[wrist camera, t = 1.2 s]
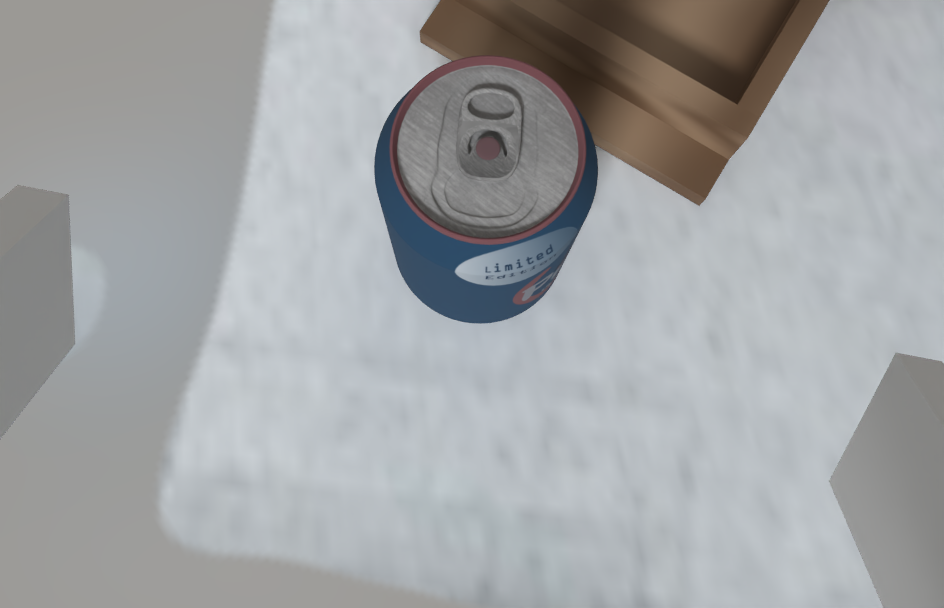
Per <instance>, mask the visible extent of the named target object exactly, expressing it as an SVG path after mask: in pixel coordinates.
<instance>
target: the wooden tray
mask: <svg viewBox="0 0 944 608" xmlns="http://www.w3.org/2000/svg"><path fill="white" fill-rule="evenodd" d="M828 2H829V0H441V1H440V2H439V4H438V5H437V7H436V8H435V10H434V11H433V13H432V14H431V15H430V17H429V18H428V20H427V21H426V23H425V24H424V26H423V27H422V29H421V30H420V40H421V43H423V44H425V45H426V46H428V47H430V48H432V49H433V50H435V51H437V52H438V53H440V54H442V55H443V56H445V57H447V58H449V59H450V60H452V61H455V60H458V59H462V58H466V57H471V56H480V55H493V56H503V57H508V58H513V59H516V60H519V61H522V62H525V63H527V64H530V65H532V66H534V67H536V68H538V69H539V70H541V71H542V72H544V73H546V74H547V75H548V76H550V77H551V78H552V79H553V80H554V81H556V82H557V83H558V84H559V85H560V86H561V87H562V88H563V90H564V91H565V92H566V93H567V95H568V96H569V97H570V99H571V100H572V102H573V103H574V104H575V106H576V107H577V108H578V110H579V111H580V113H581V114H582V116H583V118H584V119H585V121H586V123H587V125H588V127H589V130H590V132H591V135H592V138H593V141H594V144H595V145H597V146H598V147H600V148H602V149H604V150H605V151H607V152H609V153H610V154H612V155H614V156H615V157H617V158H619V159H621V160H622V161H624V162H626V163H627V164H629V165H631V166H632V167H634V168H636V169H638V170H639V171H641V172H643V173H644V174H646V175H648V176H649V177H651V178H653V179H655V180H656V181H658V182H660V183H661V184H663V185H665V186H666V187H668V188H670V189H672V190H673V191H675V192H677V193H678V194H680V195H682V196H684V197H685V198H687V199H689V200H690V201H692V202H694V203H695V204H697V205H700V204H701V203H702V202H703V201H704V200H705V199H706V197H707V196H708V194H709V192H710V190H711V189H712V187H713V185H714V184H715V182H716V180H717V179H718V177H719V175H720V174H721V172H722V170H723V169H724V167H725V165H726V164H727V162H728V160H729V159H730V158H731V157H732V155H733V154H734V153H735V152H736V151H737V150H738V149H739V147H740V146H741V145H742V144H743V143H744V142H745V141H746V139H747V138H748V137H749V135H750V133H751V132H752V130H753V128H754V127H755V125H756V123H757V122H758V120H759V118H760V116H761V115H762V113H763V111H764V110H765V108H766V106H767V105H768V103H769V101H770V100H771V98H772V96H773V95H774V93H775V91H776V89H777V88H778V86H779V84H780V83H781V81H782V79H783V78H784V76H785V74H786V73H787V71H788V69H789V68H790V66H791V64H792V63H793V61H794V59H795V57H796V56H797V54H798V52H799V51H800V49H801V47H802V46H803V44H804V42H805V41H806V39H807V37H808V36H809V34H810V32H811V30H812V29H813V27H814V25H815V24H816V22H817V20H818V19H819V17H820V15H821V14H822V12H823V10H824V9H825V7H826V5H827V4H828Z"/></svg>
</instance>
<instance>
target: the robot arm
mask: <svg viewBox="0 0 944 608" xmlns="http://www.w3.org/2000/svg"><path fill="white" fill-rule="evenodd" d="M74 345H75V329H74V306H73V283H72V260H71V237H70V216H69V195H67V194H62V193H57V192H52V191H46V190H41V189H36V188H31V187H25V186H20V185H17V186H16V187H15V188H14V189H12V190H11V191H10V192H9V193H7V194H6V195H5V196H4V197H2V198H1V199H0V439H1V438H2V436H3V435H4V434H5V433H6V431H7V430H8V429H9V427H10V426H11V425H12V424H13V422H14V421H15V420H16V418H17V417H18V416H19V415H20V413H21V412H22V411H23V410H24V408H25V407H26V406H27V404H28V403H29V402H30V401H31V399H32V398H33V397H34V396H35V394H36V393H37V391H38V390H39V389H40V388H41V387H42V385H43V384H44V383H45V382H46V380H47V379H48V378H49V376H50V375H51V374H52V373H53V371H54V370H55V369H56V367H57V366H58V365H59V364H60V362H61V361H62V360H63V359H64V357H65V356H66V355H67V353H68V352H69V351H70V350H71V348H72V347H73V346H74ZM829 482H830V485H831V487H832V489H833V491H834V494H835V496H836V498H837V501H838V503H839V505H840V508H841V510H842V512H843V515H844V517H845V519H846V522H847V524H848V526H849V529H850V531H851V533H852V536H853V538H854V540H855V543H856V545H857V547H858V550H859V552H860V554H861V556H862V559H863V561H864V563H865V566H866V568H867V570H868V573H869V575H870V577H871V580H872V582H873V584H874V587H875V589H876V591H877V594H878V596H879V598H880V601H881V603H882V605H883V608H944V364H943V363H942V361H936V360H931V359H926V358H921V357H916V356H910V355H905V354H900V353H896V354H895V356H894V357H893V359H892V361H891V363H890V365H889V367H888V369H887V371H886V373H885V375H884V377H883V379H882V380H881V382H880V384H879V386H878V388H877V390H876V392H875V394H874V396H873V398H872V400H871V402H870V404H869V405H868V407H867V409H866V411H865V413H864V415H863V417H862V419H861V421H860V423H859V425H858V427H857V428H856V430H855V432H854V434H853V436H852V438H851V440H850V442H849V444H848V446H847V448H846V450H845V451H844V453H843V455H842V457H841V459H840V461H839V463H838V465H837V467H836V469H835V471H834V473H833V475H832V476H831V478H830V480H829Z"/></svg>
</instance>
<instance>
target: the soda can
mask: <svg viewBox="0 0 944 608" xmlns="http://www.w3.org/2000/svg"><path fill="white" fill-rule="evenodd" d="M374 168H375V183H376V188H377V193H378V197H379V200H380V204H381V207H382V211H383V214H384V218H385V222H386V225H387V229H388V232H389V236H390V239H391V243H392V247H393V250H394V254H395V257H396V261H397V264H398V267H399V270H400V272H401V274H402V277H403V278H404V280H405V282H406V284H407V285H408V287H409V288H410V289H411V291H412V292H413V293H414V294H415V295H416V296H417V297H418V298H419V299H420V300H421V301H422V302H423V303H424V304H425V305H427V306H428V307H429V308H431V309H432V310H434V311H436V312H438V313H439V314H441V315H443V316H446V317H448V318H451V319H454V320H458V321H462V322H468V323H492V322H498V321H502V320H506V319H509V318H511V317H514V316H516V315H518V314H520V313H522V312H524V311H526V310H527V309H529V308H530V307H531V306H533V305H534V304H535V303H536V302H538V301H539V300H540V299H541V298H542V297H543V296H544V294H545V293H546V292H547V291H548V290H549V288H550V287H551V285H552V284H553V282H554V280H555V279H556V277H557V275H558V273H559V271H560V269H561V267H562V265H563V263H564V261H565V259H566V257H567V255H568V253H569V251H570V249H571V247H572V245H573V243H574V241H575V239H576V237H577V235H578V233H579V231H580V229H581V227H582V225H583V223H584V221H585V219H586V217H587V215H588V212H589V210H590V208H591V205H592V202H593V199H594V196H595V192H596V186H597V177H598V164H597V154H596V149H595V145H594V141H593V138H592V135H591V132H590V130H589V127H588V125H587V123H586V121H585V119H584V118H583V116H582V114H581V113H580V111H579V110H578V108H577V107H576V106H575V104H574V103H573V102H572V100H571V99H570V97H569V96H568V95H567V93H566V92H565V91H564V90H563V88H562V87H561V86H560V85H559V84H558V83H557V82H556V81H554V80H553V79H552V78H551V77H550V76H548V75H547V74H546V73H544V72H542V71H541V70H539V69H538V68H536V67H534V66H532V65H530V64H527V63H525V62H522V61H519V60H516V59H513V58H508V57H503V56H493V55H480V56H471V57H466V58H462V59H458V60H455V61H452V62H449V63H447V64H445V65H443V66H441V67H439V68H437V69H435V70H434V71H432V72H430V73H429V74H428V75H426V76H425V77H424V78H423V79H421V80H420V81H419V82H418V83H417V84H416V85H415V86H414V87H413V88H412V89H411V90H410V91H409V92H408V93H407V94H406V95H405V96H404V97H402V99H401V100H400V101H399V102H398V103H397V105H396V106H395V107H394V109H393V110H392V112H391V113H390V115H389V116H388V118H387V120H386V122H385V124H384V126H383V129H382V131H381V134H380V137H379V140H378V144H377V148H376V154H375V165H374Z"/></svg>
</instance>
